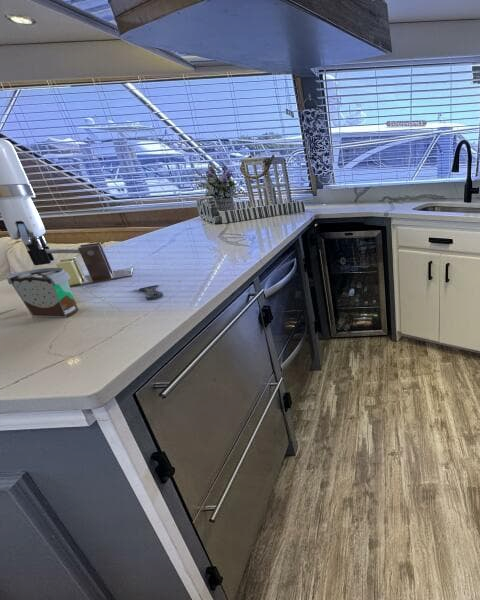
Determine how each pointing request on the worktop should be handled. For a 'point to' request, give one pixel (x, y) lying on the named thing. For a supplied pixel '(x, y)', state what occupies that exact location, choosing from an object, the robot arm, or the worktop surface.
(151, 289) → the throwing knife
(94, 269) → the slicer
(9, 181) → the robot arm
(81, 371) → the worktop surface
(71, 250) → the lever
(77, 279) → the butter
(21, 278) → the food container
